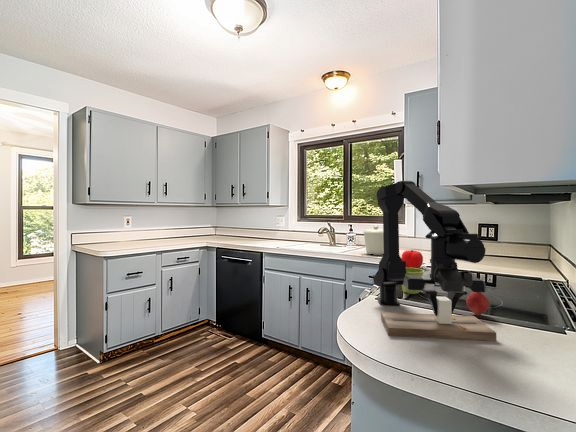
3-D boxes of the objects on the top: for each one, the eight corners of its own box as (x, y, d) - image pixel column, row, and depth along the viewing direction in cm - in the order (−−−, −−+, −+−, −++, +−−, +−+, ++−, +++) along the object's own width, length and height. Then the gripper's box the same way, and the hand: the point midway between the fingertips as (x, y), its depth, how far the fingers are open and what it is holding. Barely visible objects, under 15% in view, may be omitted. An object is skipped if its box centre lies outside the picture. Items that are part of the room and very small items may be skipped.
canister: (381, 257, 210) (381, 226, 209) (358, 254, 222) (358, 225, 222) (393, 254, 223) (393, 225, 222) (370, 252, 235) (370, 224, 235)
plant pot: (428, 295, 113) (428, 272, 113) (401, 295, 114) (401, 272, 114) (419, 289, 123) (419, 267, 123) (395, 288, 124) (395, 267, 124)
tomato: (407, 270, 161) (407, 251, 161) (397, 266, 174) (397, 248, 174) (428, 270, 162) (428, 250, 162) (417, 266, 174) (417, 248, 174)
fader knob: (434, 318, 83) (434, 296, 83) (445, 318, 83) (445, 296, 83) (439, 323, 79) (439, 300, 79) (451, 324, 79) (451, 300, 79)
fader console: (381, 319, 89) (381, 311, 89) (473, 323, 86) (473, 315, 86) (388, 335, 77) (388, 326, 77) (496, 340, 74) (496, 331, 74)
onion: (462, 312, 95) (462, 286, 95) (479, 311, 95) (479, 286, 95) (474, 318, 89) (474, 291, 89) (493, 318, 89) (493, 290, 89)
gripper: (413, 261, 74) (413, 325, 75) (497, 262, 72) (497, 329, 72) (403, 254, 85) (403, 310, 86) (475, 255, 83) (475, 313, 83)
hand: (442, 315), depth 81 cm, fingers closed on fader knob, 3 cm apart
